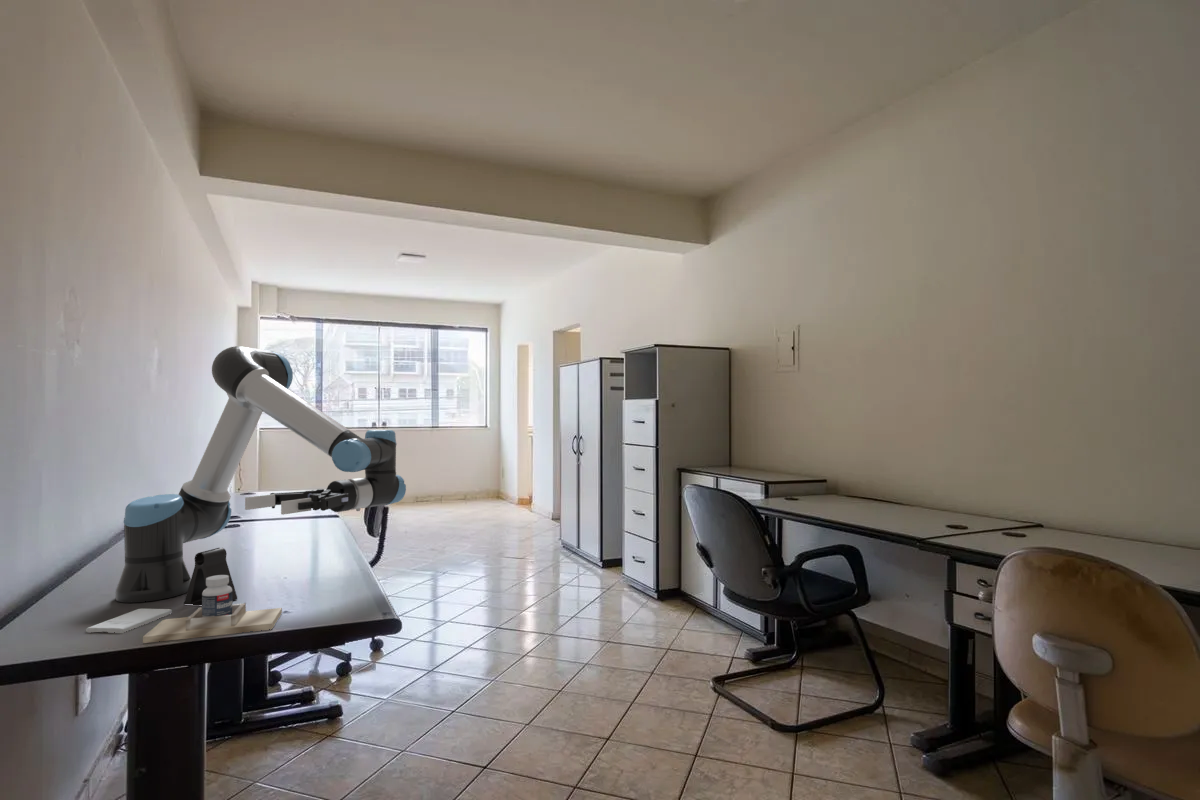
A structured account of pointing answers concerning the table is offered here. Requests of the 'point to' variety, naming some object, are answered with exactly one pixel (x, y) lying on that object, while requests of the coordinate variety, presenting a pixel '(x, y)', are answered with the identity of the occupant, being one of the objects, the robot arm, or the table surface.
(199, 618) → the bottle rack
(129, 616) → the external hard drive
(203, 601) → the pill bottle
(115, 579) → the table surface
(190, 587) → the phone stand
